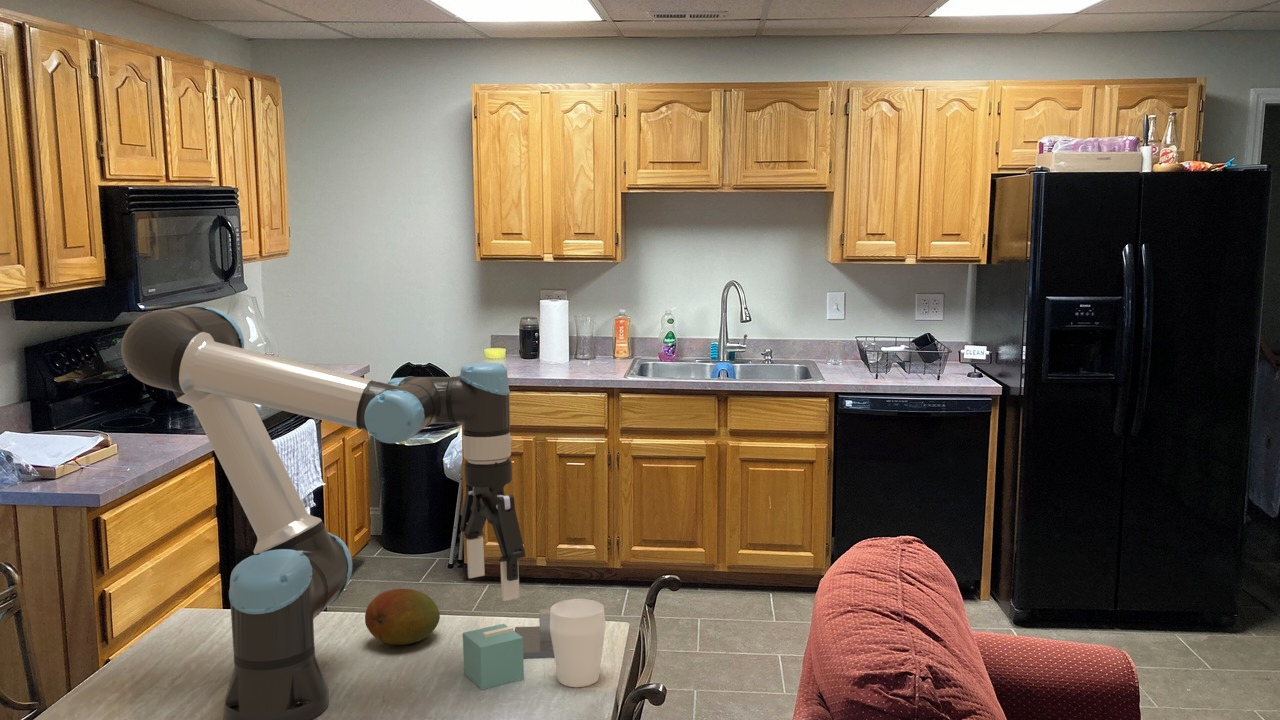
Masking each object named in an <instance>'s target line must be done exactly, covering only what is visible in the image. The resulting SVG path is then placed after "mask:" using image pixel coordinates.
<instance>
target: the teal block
mask: <svg viewBox="0 0 1280 720" xmlns="http://www.w3.org/2000/svg"><path fill="white" fill-rule="evenodd" d="M462 650H463V651H462V655H463V658H462V659H463V674H464V675H465V676H466V677H467V678H468V679H469V680H471V681H472V682H473V684H475V685H476V686H477V687H479V689H480V690H485V689H491V688H494V687H497V686H501V685H505V684H509V683H513V682H518V681H521V680H524V679H525V675H524V673H525V671H524V667H525V665H524V658H523V637H521V636H520V635H519V634H517V633H516V632H515V630H514V627H512V626H508V625H507V624H505V623H501V624H496V625H491V626H487V627H482V628H479V629H474V630H469V631H465V632H462Z"/></svg>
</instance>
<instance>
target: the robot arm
mask: <svg viewBox="0 0 1280 720" xmlns="http://www.w3.org/2000/svg"><path fill="white" fill-rule="evenodd" d="M120 352H121V357H122V358H121V359H122V360H123V363H124V365H125V367H126V368H127V371H128V372H129V373H130V374H131V375H132V377H134V378H135V379H137V380H138V381H140V382H142V383H143V384H146V385H148V386H150V387H154V388H157V389H158V388H159V389H163V390H167V391H172V392H173V394H174V395H175V398H176V401H177V402H179V403H182V404H186V405H188V406H190V407H191V408H192V409H193V411H194V414H195V416H196V417H197V419H198V421H199V423H200V425H201V428H202V429H203V431H204V433H205V435H206V438H207V439H208V441H209V444H210V445H211V448H212V449H213V452H214V453H215V456H216V457H217V459H218V461H219V463H220V465H221V467H222V469H223V471H224V473H225V475H226V477H227V479H228V481H229V483H230V486H231V487H232V489H233V491H234V494H235V495H236V498H237V499H238V502H239V503H240V506H241V507H242V509H243V511H244V513H245V516H246V517H247V519H248V522H249V524H250V525H251V528H252V529H253V531H254V534H255V535H256V538H257V541H256V544H255V547H254V549H253V554H252V555H250V556H248V557H246V558H244V559H243V560H241V561H239V563H238V564H236V565H235V567H234V568H233V569H232V571H231V574H230V579H229V590H228V599H229V604H230V615H231V616H230V617H231V618H230V621H231V633H232V634H231V636H232V650H233V651H232V652H233V670H232V673H231V677H230V679H229V684H228V687H227V692H226V694H225V698H224V702H223V709H224V711H223V713H224V714H223V715H224V720H312V719H314V718H316V717H318V716H319V715H321V714H322V713H323V712H324V711H325V710H326V709H327V707H328V706H329V703H330V693H329V685H328V682H327V681H326V677H325V676H324V673H323V670H322V668H321V666H320V663H319V662H318V659H317V656H316V650H315V649H316V648H315V629H314V627H315V626H314V621H315V618H317V617H318V616H319V615H320V614H321V613H322V612H323V611H324V610H325V609H327V607H328V606H330V605H331V604H333V603H334V602H335V601H336V600H337V599H338V598H339V597H340V596H341V595H342V593H343V592H344V591H345V590H346V587H347V586H348V585H349V583H350V581H351V578H352V573H353V560H352V559H353V558H352V555H351V552H350V549H349V548H348V546H347V544H346V543H345V542H344V540H342V539H341V538H340V537H339V536H337V535H334V534H332V533H331V532H328V530H327V527H326V526H325V524H324V522H323V520H322V518H320V517H317V516H314V515H312V514H309V513H308V511H307V509H306V508H305V505H304V503H303V501H302V499H301V497H300V495H299V493H298V491H297V489H296V487H295V485H294V483H293V480H292V479H291V477H290V474H289V472H288V471H287V470H286V467H285V464H284V463H283V461H282V459H281V457H280V455H279V453H278V451H277V449H276V446H275V445H274V443H273V440H272V438H271V436H270V435H269V432H268V431H267V428H266V426H265V424H264V422H263V420H262V419H261V416H260V414H259V412H258V410H257V408H256V406H255V405H258V406H263V407H265V408H266V407H267V408H271V409H275V410H279V411H284V412H287V413H292V414H295V415H299V416H300V415H301V416H302V417H309V418H312V419H315V420H316V419H317V420H321V421H325V422H329V423H332V424H336V425H341V426H345V427H349V428H354V429H357V430H361V431H364V432H368V433H369V434H370V435H371V436H372V437H373V438H374V439H376V441H379V442H382V443H383V444H384V443H385V444H398V443H401V442H405V441H407V440H409V439H411V438H412V437H414V436H415V435H416V434H418V433H419V432H420V431H422V430H423V429H425V428H427V427H428V426H429V425H433V424H434V425H438V424H439V425H441V424H462V443H463V444H462V445H463V448H462V449H463V458H464V459H465V460H466V461H465V463H464V465H463V466H464V481H465V497H464V503H463V507H462V515H461V520H460V526H459V529H460V532H461V533H464V538H465V539H466V541H465V542H466V559H467V561H466V563H467V578H468V579H474V578H478V577H484V576H485V575H486V574H485V573H486V572H485V552H484V551H485V550H484V548H485V547H484V538H483V536H484V535H485V532H484V531H483V529H484V526H485V524H486V521H487V522H488V524H491V526H492V529H493V532H494V535H495V538H496V541H497V544H498V546H499V547H498V548H499V549H500V553H501V556H500V558H499V560H498V562H500V564H499V565H500V586H501V587H500V588H501V590H500V591H501V601H503V602H507V601H511V600H516V599H519V598H520V576H519V575H520V574H519V560H520V559H522V558H525V557H526V551H525V546H524V543H523V538H522V535H521V534H522V533H521V530H520V526H519V521H518V516H517V513H516V506H515V505H516V504H515V497H514V496H515V495H513V494H508V495H506V494H505V490H504V488H505V486H506V485H509V484H510V483H511V482H512V480H513V465H512V464H513V463H512V460H511V459H510V457H511V455H512V449H511V448H512V447H511V445H512V443H511V442H512V441H513V436H512V435H511V418H510V417H511V414H510V413H511V412H510V411H511V410H510V407H511V406H510V394H511V391H510V390H511V389H510V388H509V376H508V369H507V367H506V366H505V365H504V364H503V363H499V362H473V363H466V364H463V365H462V366H461V367H460V373H459V375H456V376H447V377H446V376H441V377H440V376H411V375H410V376H406V377H394V378H391V379H390V380H389V381H387V383H384V382H380V381H376V380H373V379H368V378H365V377H361V376H357V375H351V374H349V373H344V372H340V371H336V370H332V369H328V368H326V367H321V366H317V365H316V366H315V365H311V364H307V363H303V362H300V361H295V360H291V359H287V358H282V357H278V356H275V355H270V354H267V353H262V352H259V351H254V350H250V349H247V348H245V338H244V335H243V332H242V330H241V328H240V326H239V325H238V323H237V321H235V319H233V318H232V317H231V316H230V315H229V314H227V313H226V312H225V311H222V310H220V309H217V308H214V307H209V306H201V305H190V306H186V307H182V308H181V307H180V308H174V309H167V310H165V309H164V310H156V311H152V312H148V313H146V314H143V315H141V316H139V317H138V318H137V319H135V320H134V321H133V322H132V323H131V324H130V325H129V326H128V327H127V329H126V331H125V332H124V334H123V336H122V340H121V348H120Z"/></svg>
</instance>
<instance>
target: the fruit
mask: <svg viewBox="0 0 1280 720" xmlns="http://www.w3.org/2000/svg"><path fill="white" fill-rule="evenodd" d="M440 619H441V614H440V609H439V607H438V605H437V604H436V602H435V601H434V600H433V599H432V598H431V597H430V596H429V595H428V594H426V593H424V592H421V591H419V590H415V589H411V588H409V589H408V588H397V589H395V588H394V589H390V590H386V591H383V592H381V593H379V594H378V595H376V596H375V597H373V599H372V600H371V601H370V602H369V604H368V605H367V607H366V610H365V613H364V623H365V627H366V628H367V630H368V632H369V633H370V634H371V636H373V638H375V639H376V640H378V641H379V642H381V643H383V644H386V645H394V646H405V645H410V644H414V643H417V642H419V641H422V640H423V639H425V638H427V637H428V636H430V634H431V633H432V632H434V631H435V629H436V628H437V626H438V624H439V622H440Z"/></svg>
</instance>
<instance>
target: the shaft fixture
mask: <svg viewBox="0 0 1280 720" xmlns="http://www.w3.org/2000/svg"><path fill="white" fill-rule="evenodd" d="M550 609H551V608H543V609H539V614H538V616H539V617H538V618H539V619H538V620H539V621H538V622H539V625H538V626H515V627H514V631H515V632H516V633H517V634H519V635H520V636H521V637H523V659H541V658H542V659H549V658H554V659H555V657H554V651H553V645H552V639H551V633H550Z"/></svg>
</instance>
